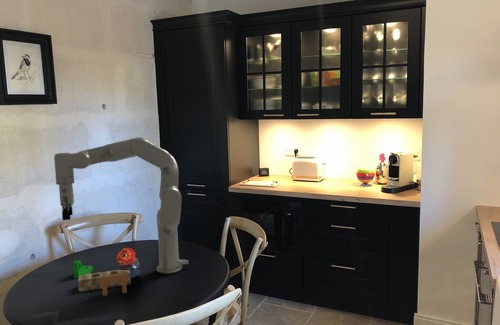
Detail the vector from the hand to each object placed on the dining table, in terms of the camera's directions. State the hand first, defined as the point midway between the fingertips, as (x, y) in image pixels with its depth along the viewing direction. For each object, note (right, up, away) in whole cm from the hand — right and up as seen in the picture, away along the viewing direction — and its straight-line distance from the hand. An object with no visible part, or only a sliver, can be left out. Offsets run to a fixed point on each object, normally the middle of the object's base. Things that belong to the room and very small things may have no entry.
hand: (67, 217), depth 189 cm
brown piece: (+25, -31, -10) cm, 41 cm away
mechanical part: (+2, -30, +15) cm, 34 cm away
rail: (+17, -31, 0) cm, 35 cm away
